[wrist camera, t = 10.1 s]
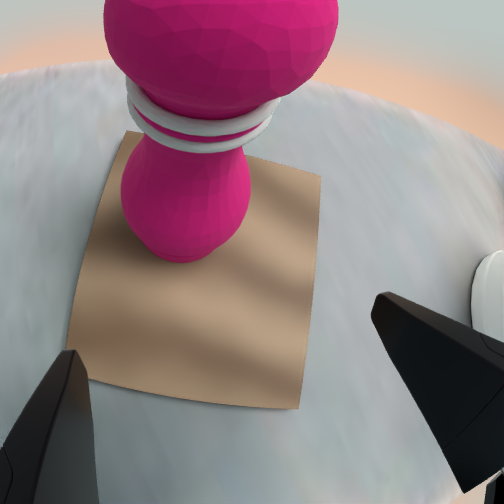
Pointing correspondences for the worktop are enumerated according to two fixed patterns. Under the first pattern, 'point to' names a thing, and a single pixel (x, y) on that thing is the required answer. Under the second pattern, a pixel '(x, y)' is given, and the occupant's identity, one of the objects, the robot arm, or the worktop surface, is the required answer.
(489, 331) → the bottle
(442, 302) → the worktop surface
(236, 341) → the tan cloth
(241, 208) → the pepper mill
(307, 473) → the worktop surface
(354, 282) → the worktop surface
